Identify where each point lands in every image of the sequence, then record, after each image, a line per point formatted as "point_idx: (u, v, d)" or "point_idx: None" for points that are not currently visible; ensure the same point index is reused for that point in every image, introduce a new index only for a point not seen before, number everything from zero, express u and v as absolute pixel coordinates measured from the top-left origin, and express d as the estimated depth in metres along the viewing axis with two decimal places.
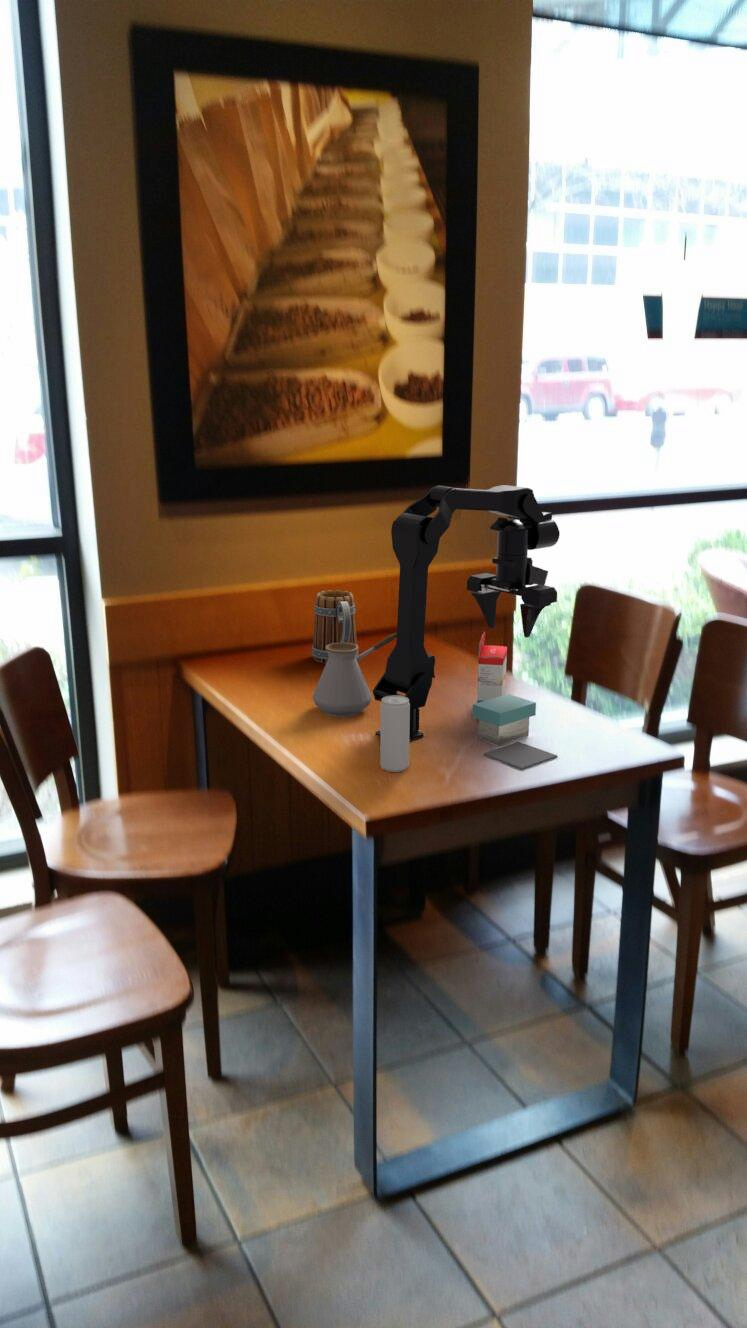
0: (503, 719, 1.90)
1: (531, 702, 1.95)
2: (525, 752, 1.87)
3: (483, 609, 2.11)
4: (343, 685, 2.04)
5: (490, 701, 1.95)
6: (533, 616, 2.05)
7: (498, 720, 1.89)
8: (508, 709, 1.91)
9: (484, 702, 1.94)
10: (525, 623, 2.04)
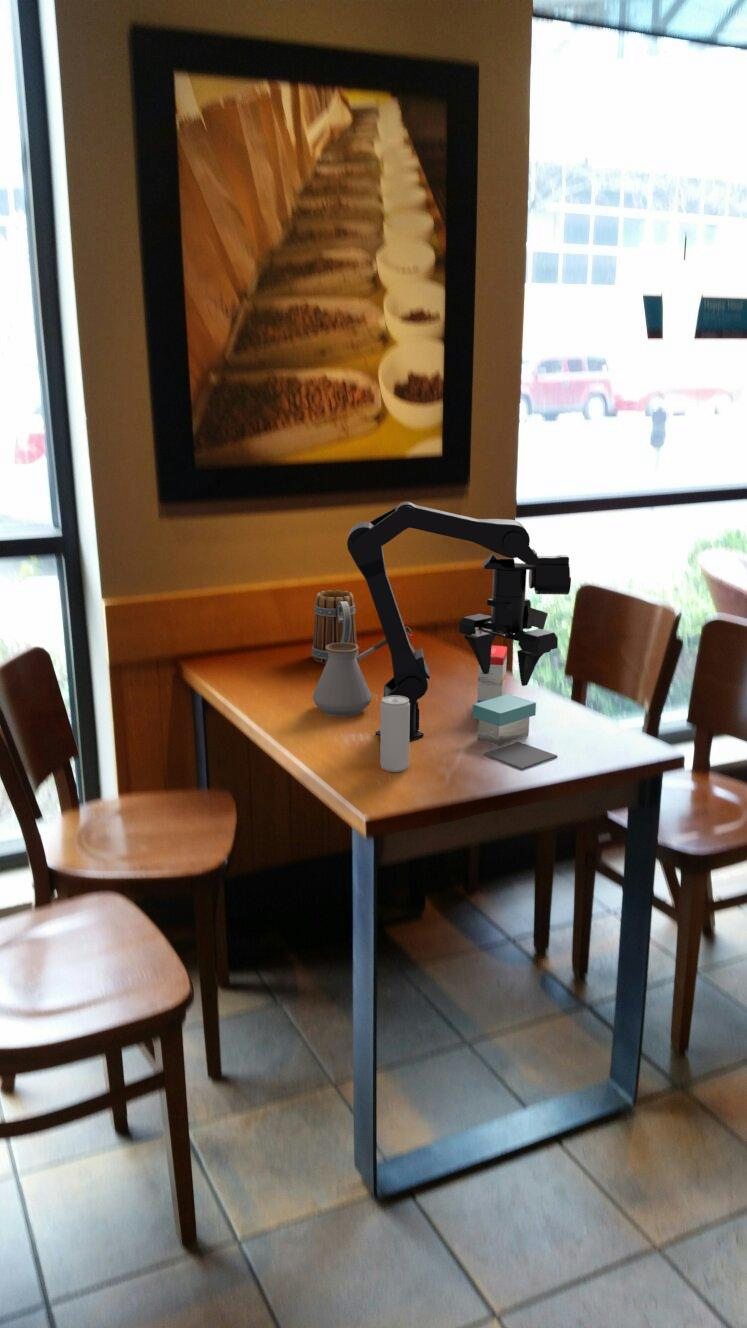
0: (503, 719, 1.90)
1: (531, 702, 1.95)
2: (525, 752, 1.87)
3: (477, 654, 1.94)
4: (343, 685, 2.04)
5: (490, 701, 1.95)
6: (531, 663, 1.88)
7: (498, 720, 1.89)
8: (508, 709, 1.91)
9: (484, 702, 1.94)
10: (522, 671, 1.87)
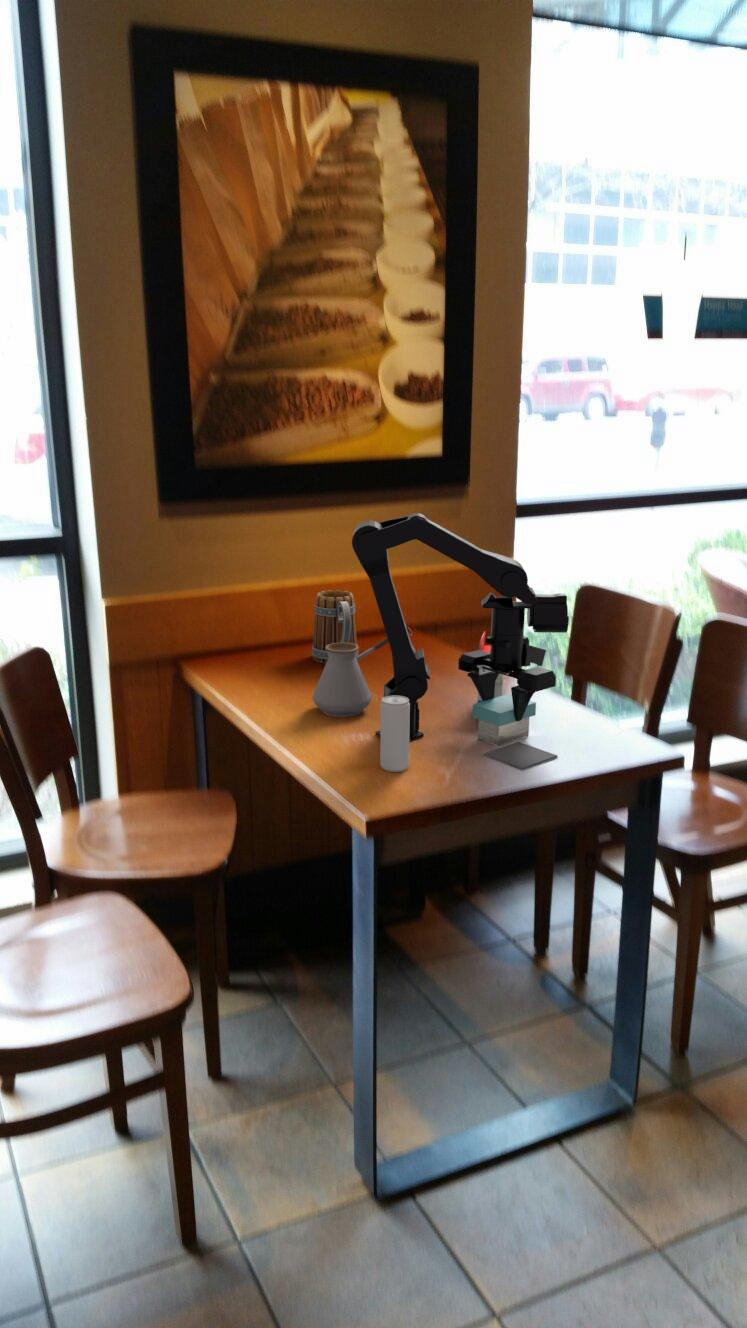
0: (503, 719, 1.90)
1: (531, 702, 1.95)
2: (525, 752, 1.87)
3: (481, 692, 1.95)
4: (343, 685, 2.04)
5: (490, 701, 1.95)
6: (525, 699, 1.90)
7: (498, 720, 1.89)
8: (508, 709, 1.91)
9: (484, 702, 1.94)
10: (516, 707, 1.90)
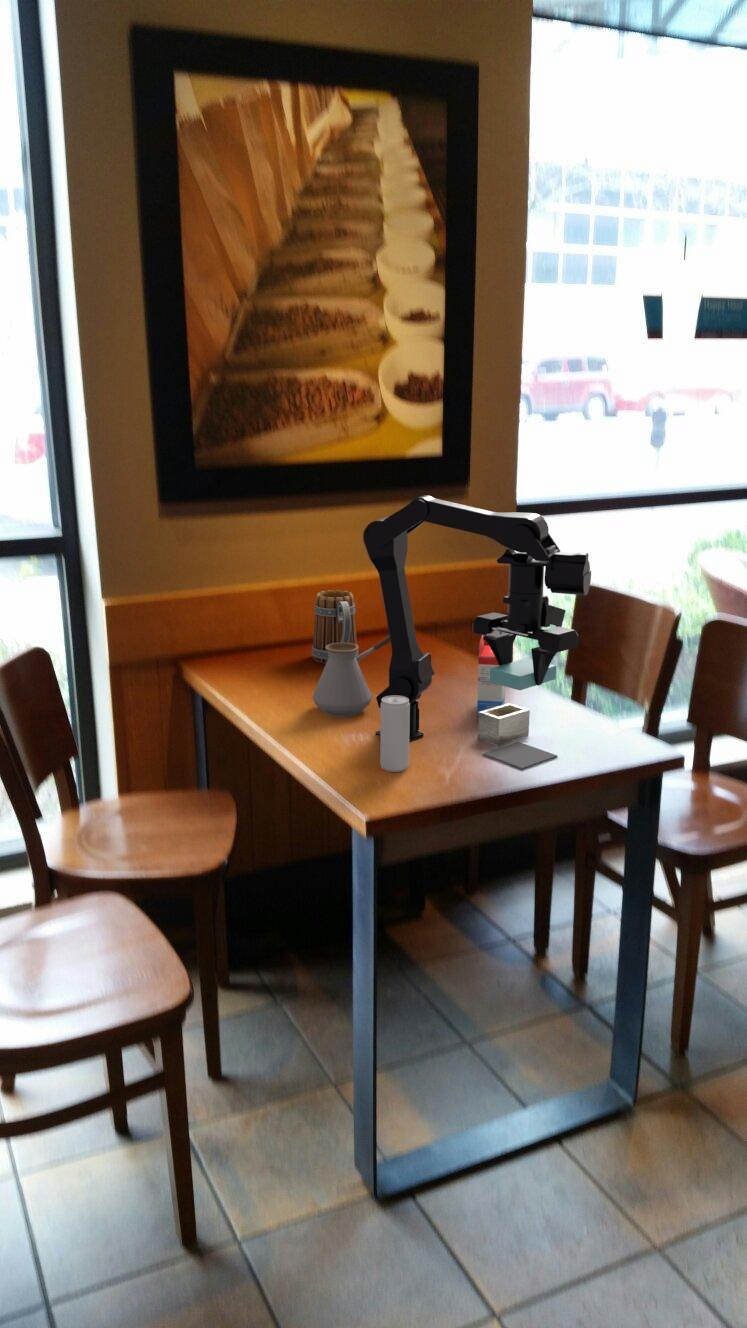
0: (523, 683, 1.79)
1: (551, 665, 1.84)
2: (525, 752, 1.87)
3: (497, 655, 1.85)
4: (343, 685, 2.04)
5: (508, 665, 1.84)
6: (546, 661, 1.80)
7: (518, 684, 1.79)
8: (528, 672, 1.80)
9: (502, 666, 1.84)
10: (537, 670, 1.79)
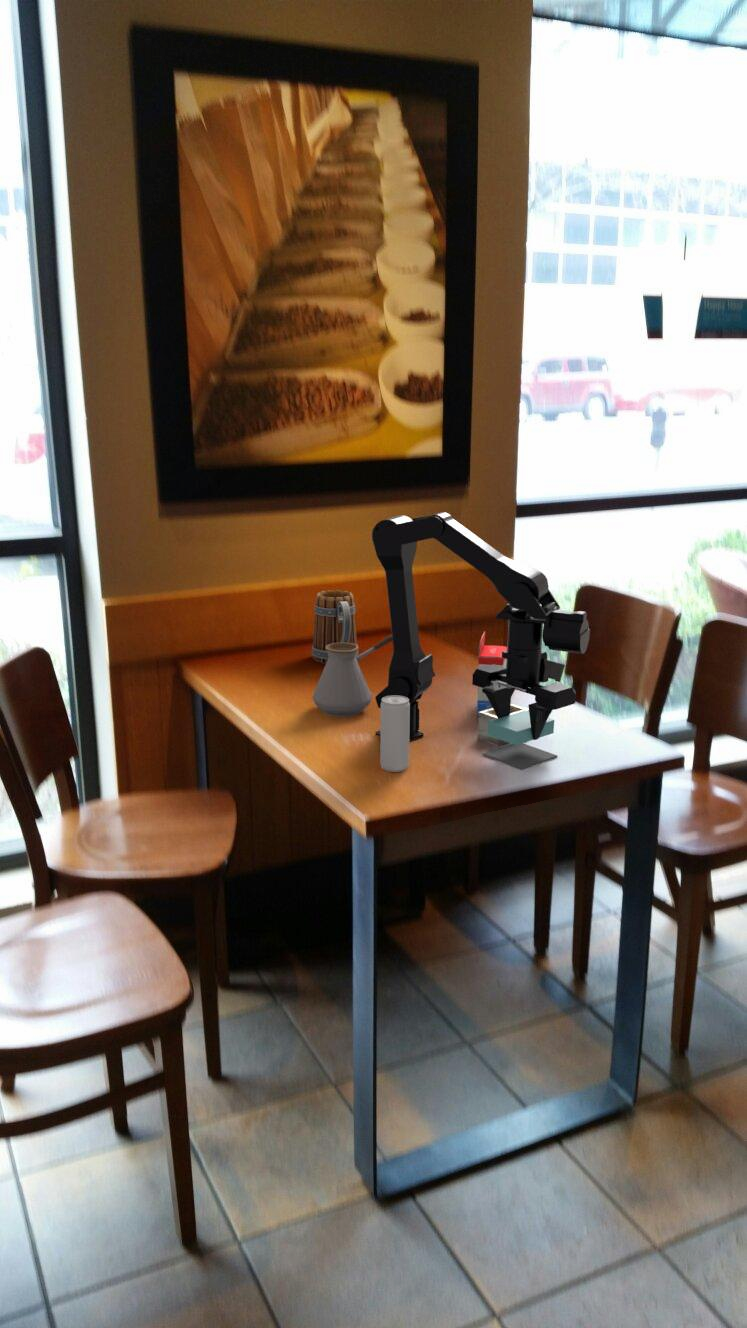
0: (520, 738, 1.80)
1: (549, 719, 1.85)
2: (525, 752, 1.87)
3: (496, 708, 1.86)
4: (343, 685, 2.04)
5: (506, 718, 1.86)
6: (543, 717, 1.81)
7: (515, 739, 1.80)
8: (525, 727, 1.82)
9: (500, 719, 1.85)
10: (534, 725, 1.80)
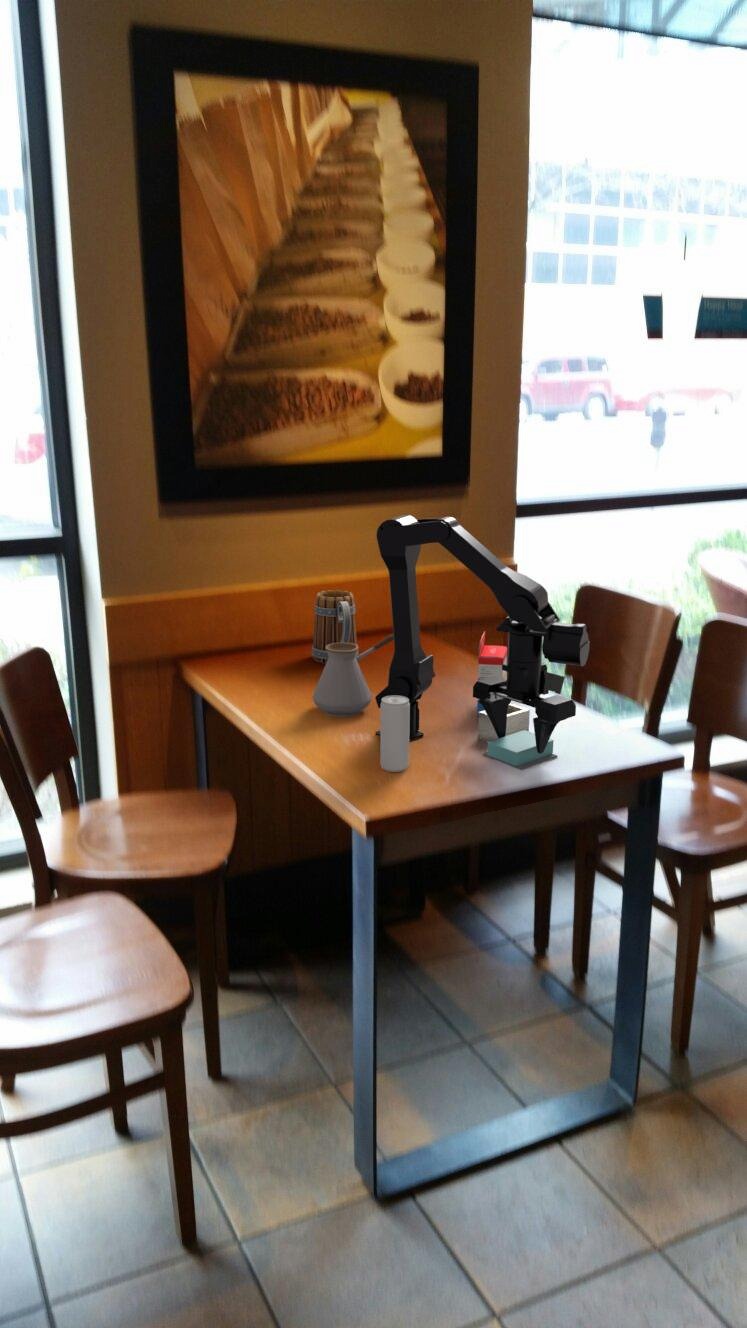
0: (520, 758, 1.81)
1: None
2: None
3: (492, 719, 1.87)
4: (343, 685, 2.04)
5: (505, 738, 1.87)
6: (548, 730, 1.81)
7: (514, 759, 1.81)
8: (525, 747, 1.83)
9: (499, 739, 1.86)
10: (539, 739, 1.80)
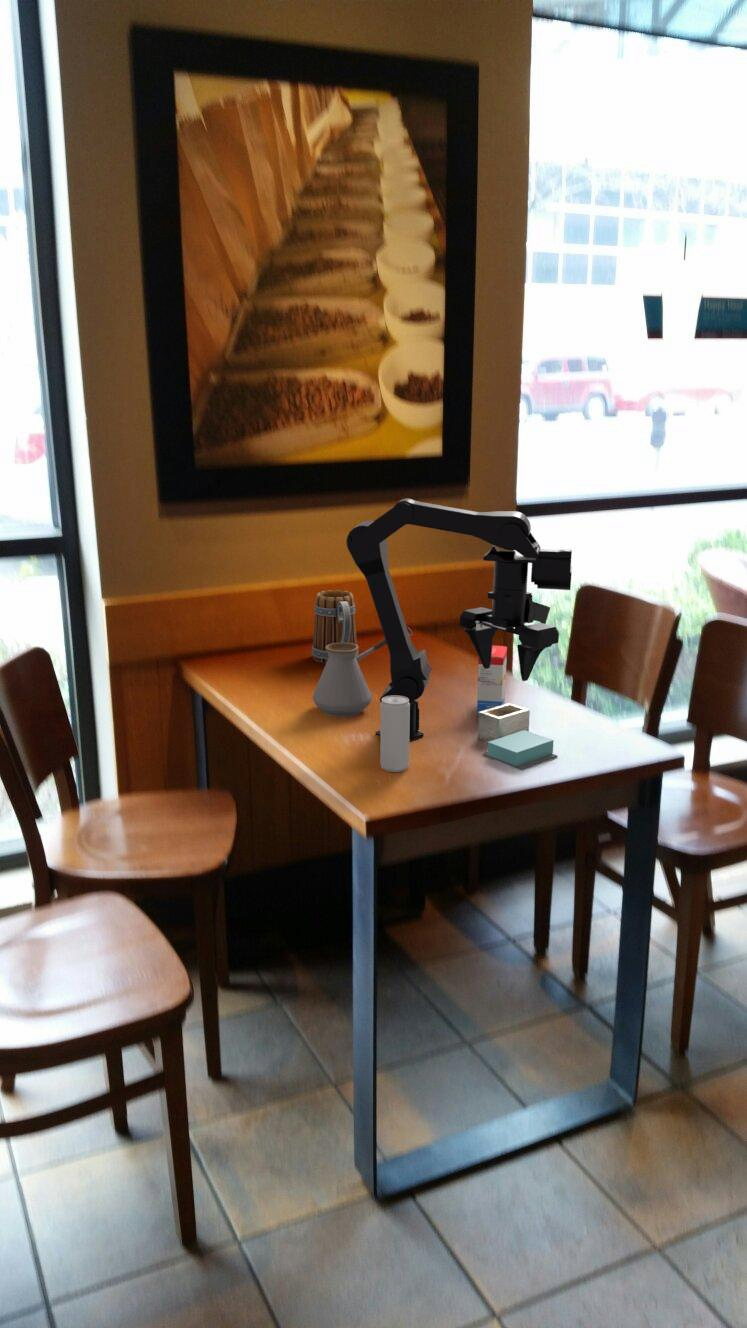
0: (520, 758, 1.81)
1: (548, 739, 1.86)
2: None
3: (477, 648, 1.91)
4: (343, 685, 2.04)
5: (505, 738, 1.87)
6: (532, 658, 1.84)
7: (514, 759, 1.81)
8: (525, 747, 1.83)
9: (499, 739, 1.86)
10: (523, 666, 1.83)
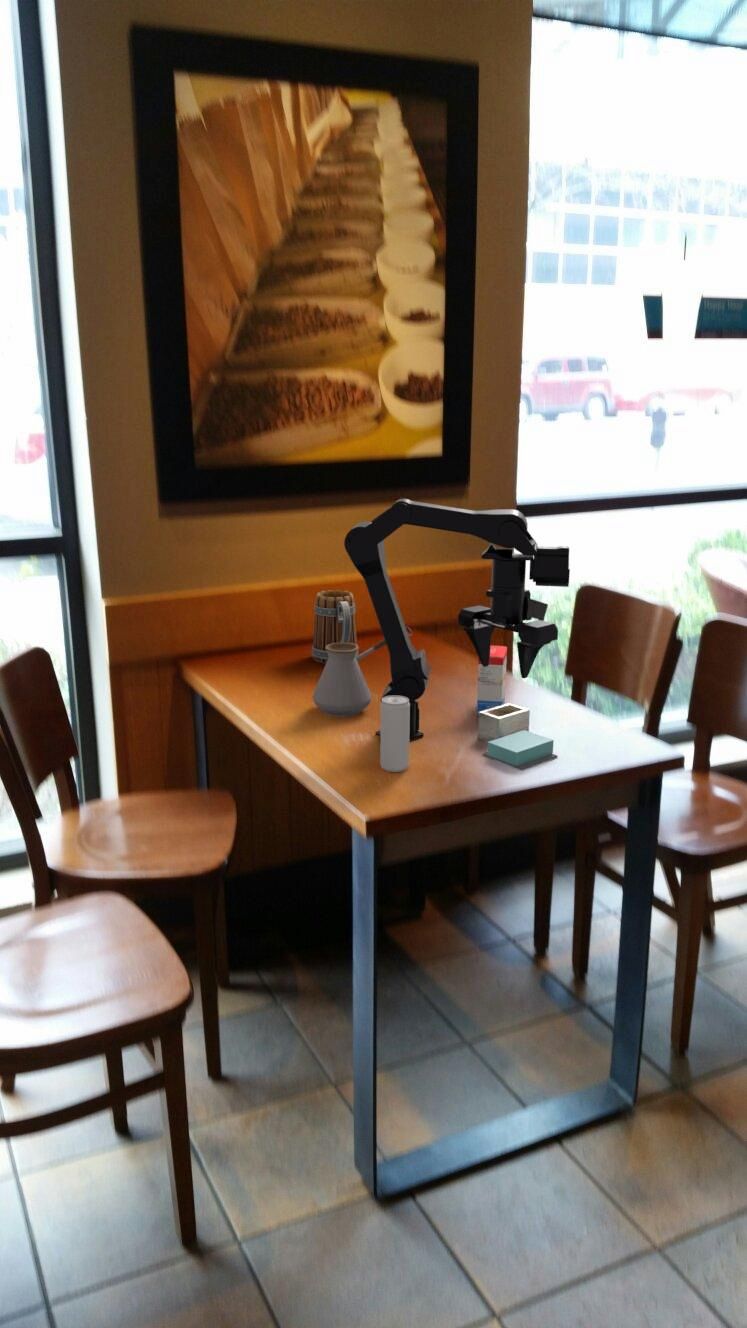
0: (520, 758, 1.81)
1: (548, 739, 1.86)
2: None
3: (476, 646, 1.91)
4: (343, 685, 2.04)
5: (505, 738, 1.87)
6: (531, 655, 1.85)
7: (514, 759, 1.81)
8: (525, 747, 1.83)
9: (499, 739, 1.86)
10: (522, 663, 1.84)
